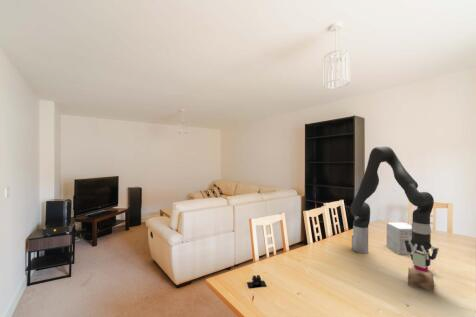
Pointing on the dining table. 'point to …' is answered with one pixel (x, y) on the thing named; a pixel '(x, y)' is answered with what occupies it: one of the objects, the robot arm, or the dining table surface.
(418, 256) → the green block
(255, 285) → the black irregular piece
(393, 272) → the dining table surface
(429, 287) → the walnut box
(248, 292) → the dining table surface
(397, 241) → the supplement box
